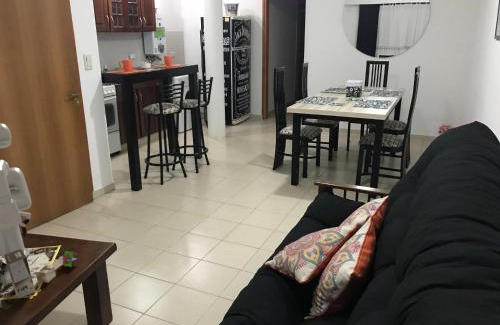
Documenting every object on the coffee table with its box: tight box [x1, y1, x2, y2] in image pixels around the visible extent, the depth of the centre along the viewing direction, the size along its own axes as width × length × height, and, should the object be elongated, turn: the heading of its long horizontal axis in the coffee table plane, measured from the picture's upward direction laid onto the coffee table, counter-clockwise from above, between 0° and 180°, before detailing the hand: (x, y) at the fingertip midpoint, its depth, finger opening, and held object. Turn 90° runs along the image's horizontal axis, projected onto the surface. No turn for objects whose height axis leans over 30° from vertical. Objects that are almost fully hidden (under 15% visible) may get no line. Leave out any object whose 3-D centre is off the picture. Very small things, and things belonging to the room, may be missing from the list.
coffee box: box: [4, 249, 36, 299], centre depth 159 cm, size 9×6×16 cm
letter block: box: [35, 264, 57, 283], centre depth 167 cm, size 6×5×5 cm
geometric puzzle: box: [58, 250, 77, 268], centre depth 176 cm, size 7×7×8 cm
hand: (10, 238), depth 153 cm, fingers open, 9 cm apart
